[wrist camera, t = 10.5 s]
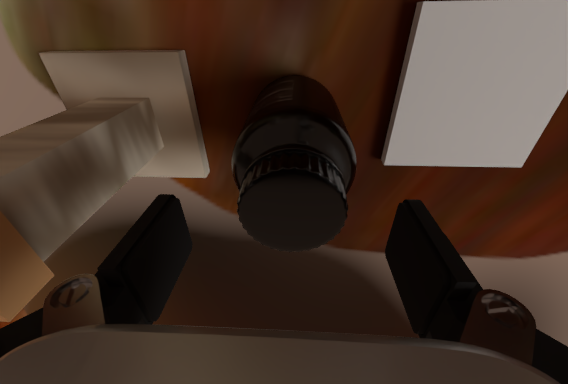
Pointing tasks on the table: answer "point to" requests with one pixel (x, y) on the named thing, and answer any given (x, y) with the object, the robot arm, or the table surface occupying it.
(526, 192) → the table surface
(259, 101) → the supplement bottle
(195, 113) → the stand
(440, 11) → the grey mat
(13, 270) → the strap bar
